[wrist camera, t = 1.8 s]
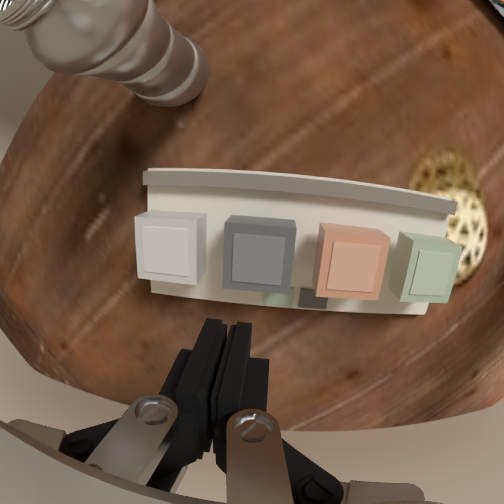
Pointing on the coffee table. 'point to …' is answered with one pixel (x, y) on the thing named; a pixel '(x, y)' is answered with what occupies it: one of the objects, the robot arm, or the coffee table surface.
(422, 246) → the key sage
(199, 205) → the keyboard base
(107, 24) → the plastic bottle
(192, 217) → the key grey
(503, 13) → the food plate
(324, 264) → the key terracotta
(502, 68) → the coffee table surface
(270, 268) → the key charcoal
